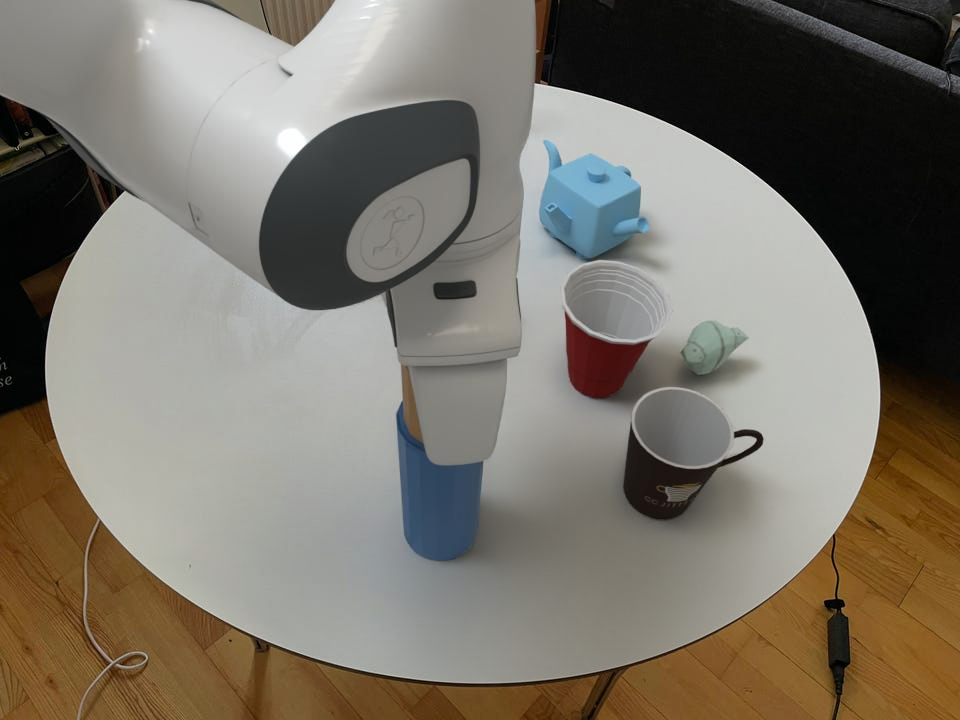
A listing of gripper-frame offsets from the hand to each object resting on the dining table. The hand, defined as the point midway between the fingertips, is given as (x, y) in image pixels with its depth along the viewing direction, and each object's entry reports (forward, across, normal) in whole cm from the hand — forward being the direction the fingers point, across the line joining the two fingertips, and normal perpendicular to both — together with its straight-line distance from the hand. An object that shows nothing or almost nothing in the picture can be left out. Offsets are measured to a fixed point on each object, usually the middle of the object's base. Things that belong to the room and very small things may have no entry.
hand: (441, 390), depth 54 cm
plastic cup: (+19, -16, +18) cm, 31 cm away
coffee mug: (+19, -1, +22) cm, 29 cm away
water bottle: (+19, 0, 0) cm, 19 cm away
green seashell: (+19, -16, +30) cm, 39 cm away
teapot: (+19, -39, +22) cm, 49 cm away
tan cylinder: (+3, 0, 0) cm, 3 cm away
